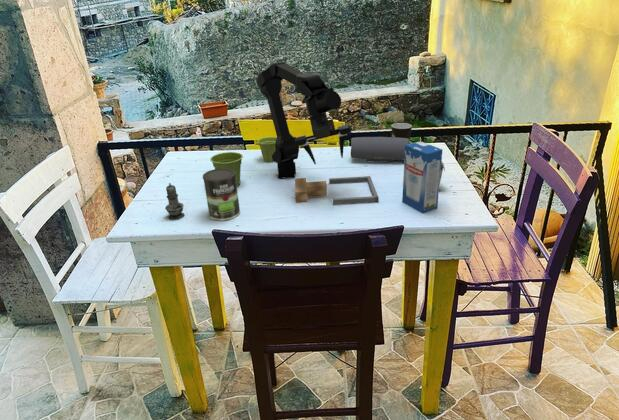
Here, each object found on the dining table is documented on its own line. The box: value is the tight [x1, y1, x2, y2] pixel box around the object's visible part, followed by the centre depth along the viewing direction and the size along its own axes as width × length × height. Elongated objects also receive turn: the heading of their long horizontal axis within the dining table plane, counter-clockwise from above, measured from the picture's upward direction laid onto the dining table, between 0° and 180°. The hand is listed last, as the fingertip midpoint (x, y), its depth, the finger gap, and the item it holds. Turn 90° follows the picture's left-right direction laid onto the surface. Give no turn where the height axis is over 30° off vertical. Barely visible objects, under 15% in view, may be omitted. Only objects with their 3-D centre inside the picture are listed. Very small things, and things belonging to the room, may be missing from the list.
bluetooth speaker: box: [350, 136, 410, 163], centre depth 184 cm, size 23×9×10 cm, turn 80°
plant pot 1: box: [209, 151, 244, 187], centre depth 168 cm, size 12×12×11 cm
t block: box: [294, 177, 328, 204], centre depth 159 cm, size 11×12×4 cm
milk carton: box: [401, 140, 443, 214], centre depth 144 cm, size 10×6×20 cm, turn 29°
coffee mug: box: [390, 122, 413, 141], centre depth 197 cm, size 12×9×10 cm
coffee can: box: [202, 168, 241, 222], centre depth 147 cm, size 10×10×14 cm
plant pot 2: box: [257, 136, 277, 163], centre depth 191 cm, size 9×9×9 cm
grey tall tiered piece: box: [164, 182, 185, 221], centre depth 147 cm, size 6×6×12 cm
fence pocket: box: [328, 175, 380, 206], centre depth 159 cm, size 15×18×2 cm
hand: (328, 160), depth 151 cm, fingers open, 9 cm apart
